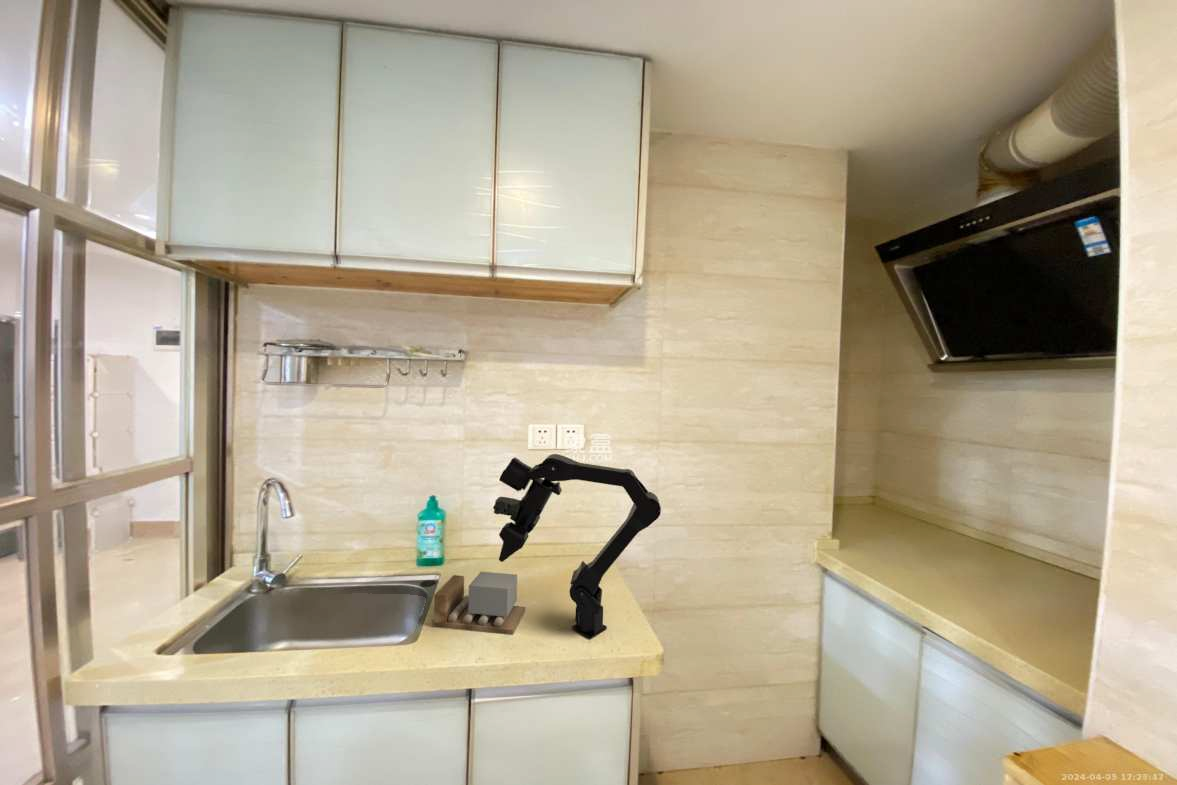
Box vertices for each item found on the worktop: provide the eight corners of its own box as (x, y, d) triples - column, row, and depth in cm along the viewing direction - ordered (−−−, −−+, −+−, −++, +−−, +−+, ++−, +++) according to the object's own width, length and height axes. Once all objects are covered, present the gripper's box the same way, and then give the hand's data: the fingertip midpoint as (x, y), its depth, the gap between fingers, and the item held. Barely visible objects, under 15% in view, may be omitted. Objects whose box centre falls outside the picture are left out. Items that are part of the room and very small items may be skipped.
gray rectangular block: (516, 600, 117) (517, 574, 116) (507, 616, 109) (507, 588, 108) (480, 597, 118) (480, 571, 118) (468, 613, 110) (468, 585, 110)
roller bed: (525, 611, 118) (525, 581, 118) (512, 634, 107) (513, 601, 107) (450, 604, 121) (451, 574, 120) (431, 626, 110) (431, 594, 110)
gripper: (516, 476, 120) (489, 525, 121) (496, 494, 101) (464, 551, 103) (551, 496, 119) (524, 545, 120) (538, 518, 101) (506, 576, 102)
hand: (505, 553), depth 111 cm, fingers open, 9 cm apart
